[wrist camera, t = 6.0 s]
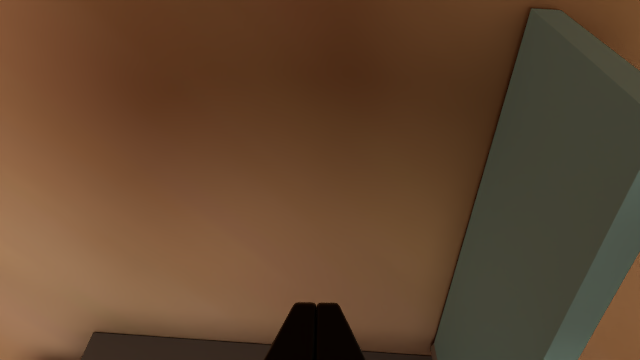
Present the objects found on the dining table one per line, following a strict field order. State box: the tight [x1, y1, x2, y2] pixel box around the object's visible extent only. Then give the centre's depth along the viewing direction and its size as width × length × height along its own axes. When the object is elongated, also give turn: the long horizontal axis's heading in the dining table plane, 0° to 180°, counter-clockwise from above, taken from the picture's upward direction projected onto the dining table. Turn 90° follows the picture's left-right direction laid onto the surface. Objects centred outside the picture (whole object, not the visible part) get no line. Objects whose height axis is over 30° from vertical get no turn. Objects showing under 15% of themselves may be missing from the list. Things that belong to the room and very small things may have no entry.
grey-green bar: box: [430, 8, 640, 360], centre depth 15 cm, size 15×2×6 cm, turn 177°
